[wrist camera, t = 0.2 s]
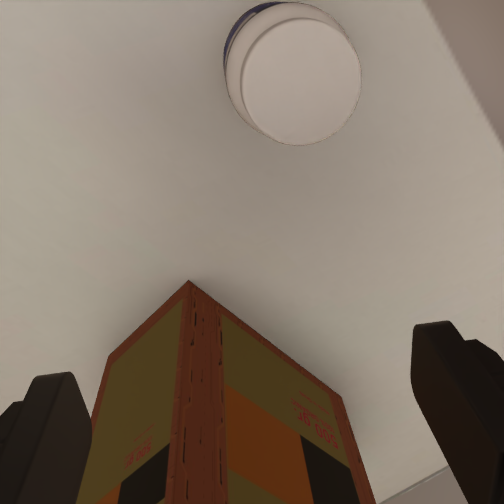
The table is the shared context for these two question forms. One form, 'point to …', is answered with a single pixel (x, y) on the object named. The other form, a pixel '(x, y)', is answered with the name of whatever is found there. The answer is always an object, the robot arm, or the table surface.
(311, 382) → the box
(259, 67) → the pill bottle
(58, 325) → the table surface
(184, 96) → the table surface
